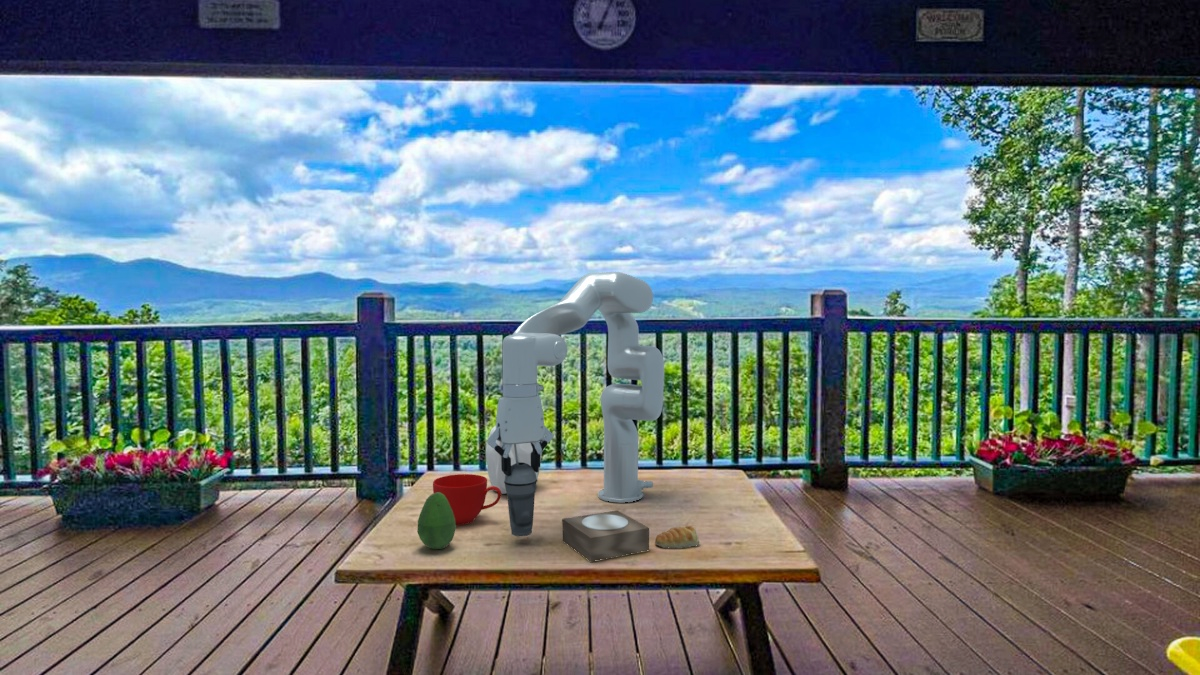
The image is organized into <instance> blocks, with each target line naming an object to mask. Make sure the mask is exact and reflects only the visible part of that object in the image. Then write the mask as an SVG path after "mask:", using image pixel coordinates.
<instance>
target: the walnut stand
mask: <svg viewBox="0 0 1200 675" xmlns="http://www.w3.org/2000/svg"><path fill="white" fill-rule="evenodd" d="M561 524H562V528H561V529H562V532H561V533H562V534H561V535H562V537H561V538H562V542H563V543H564V542H565V543H564V544H566V545H567V544H568V545H569V548H571V547H572V548H573V550H574V549H575V550H576V551H577V552H576V551H575V550H574V551H575V552H576V553H578V552H579V553H580V554H581V555H583V556H584V557H585V558H587V559H588V560H589V561H595V560H600V559H606V558H611V557H616V556H621V557H623V556H622V555H626V554H631V553H637V552H641V551H647V550H649V551H650V527H649V526H646V524H643V523H641V522H639V521H638V520H636V519H634V518H632V517H631V516H629V515H627V514H625V513H623V512H621V511H619V509H618V510H612V511H603V512H597V513H592V514H586V515H585V514H584V515H579V516H571V517H565V518H562V523H561ZM568 545H567V546H568ZM572 548H571V549H572ZM647 552H648V551H647ZM579 553H578V554H579ZM580 554H579V555H580ZM637 554H638V553H637ZM581 555H580V556H581ZM583 556H582V557H583ZM584 557H583V558H584ZM585 558H584V559H585ZM616 558H617V557H616ZM587 559H586V560H587ZM611 559H612V558H611ZM588 560H587V561H588ZM606 560H607V559H606ZM589 561H588V562H589ZM600 561H601V560H600ZM595 562H596V561H595Z"/></svg>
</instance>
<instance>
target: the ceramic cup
mask: <svg viewBox="0 0 1200 675" xmlns="http://www.w3.org/2000/svg"><path fill="white" fill-rule="evenodd" d="M495 490H496V491H495ZM489 491H495V492H496V493H497V498H496V499H495V500H494V501H493V502H492V503H490V504H486V505H485V502H486V499H487V498H486V497H487V494H488V492H489ZM432 492H433V493H436V492H440V493H442V494H443V495H445V497H446V498H447V500H448V502H449V504H450V507H451V509H452V511H453V514H454V517H455V523H456V526H464V525H468V524H471V523H473V522H474V521H475V519H476V518H478V516H479V514H480V513H481V511H483V510H487V509H490V508H492V507H494V506H495V505H497V504H498V503H499V502H500V501H501V497H502V494H501V491H500V489H499V488H498V487H495V486H489V487H488V479H487V477H485V476H484V475H479V474H473V473H469V474H467V473H465V474H464V473H463V474H459V473H458V474H449V475H444V476H440V477H438V478H436V479H434V480H433V482H432ZM433 493H432V494H433Z"/></svg>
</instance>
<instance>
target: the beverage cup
mask: <svg viewBox="0 0 1200 675" xmlns="http://www.w3.org/2000/svg"><path fill="white" fill-rule="evenodd" d="M514 449H515V457H516V464H513V465H512V466H511V475H510V476H507V475H505V481H504V483H505V488H506V492H507V494H506V497H507V506H508V507H507V508H508V516H509V526H510V532H511V535H513V536H515V537H526V536H530V535H531V534H532V532H533V526H534V514H535V513H534V511H535V510H534V509H535V498H536V489H537V483H536V482H538V479H536V473H535V471H534V470H533V468H532V467H531V466H530V465H528V464H526V463H522V462H520V463H519V462H518V455H517V447H516V444H514Z"/></svg>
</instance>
